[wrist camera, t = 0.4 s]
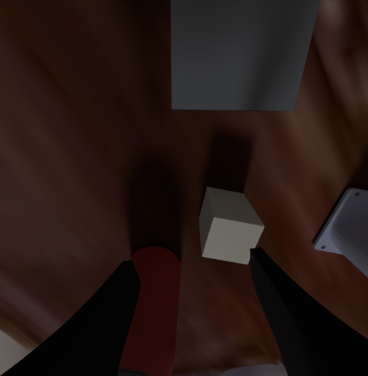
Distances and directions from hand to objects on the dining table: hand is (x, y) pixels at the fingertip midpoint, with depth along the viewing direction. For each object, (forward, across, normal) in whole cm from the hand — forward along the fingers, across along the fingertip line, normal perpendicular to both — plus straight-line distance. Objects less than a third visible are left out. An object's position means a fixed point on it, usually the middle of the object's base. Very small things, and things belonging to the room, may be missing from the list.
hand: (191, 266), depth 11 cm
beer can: (+10, +6, +9) cm, 14 cm away
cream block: (+10, -3, +2) cm, 10 cm away
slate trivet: (+9, -5, -13) cm, 17 cm away
